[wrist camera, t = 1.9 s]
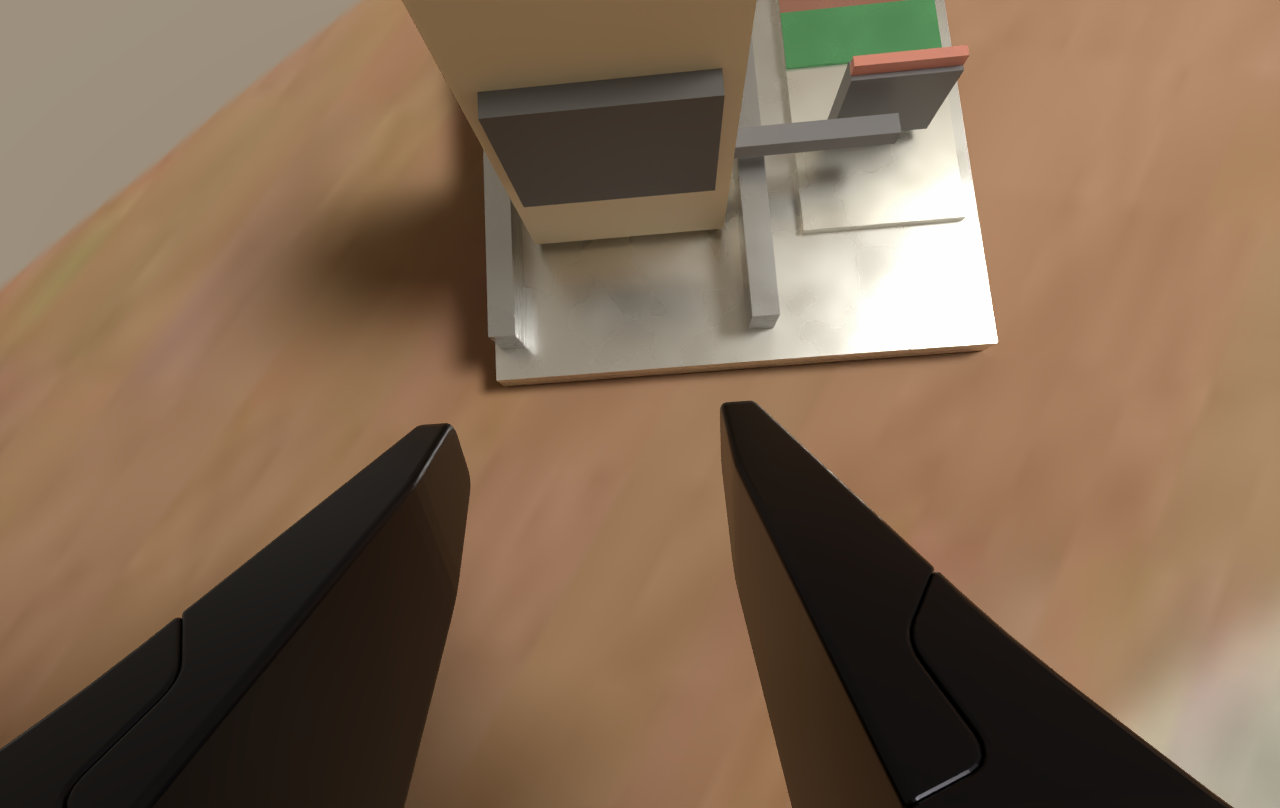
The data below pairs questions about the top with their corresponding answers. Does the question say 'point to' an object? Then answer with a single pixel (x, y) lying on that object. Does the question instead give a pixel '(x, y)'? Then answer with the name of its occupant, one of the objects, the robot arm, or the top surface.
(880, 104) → the drag pointer
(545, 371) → the gauge frame
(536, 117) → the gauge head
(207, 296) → the top surface
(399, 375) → the top surface
